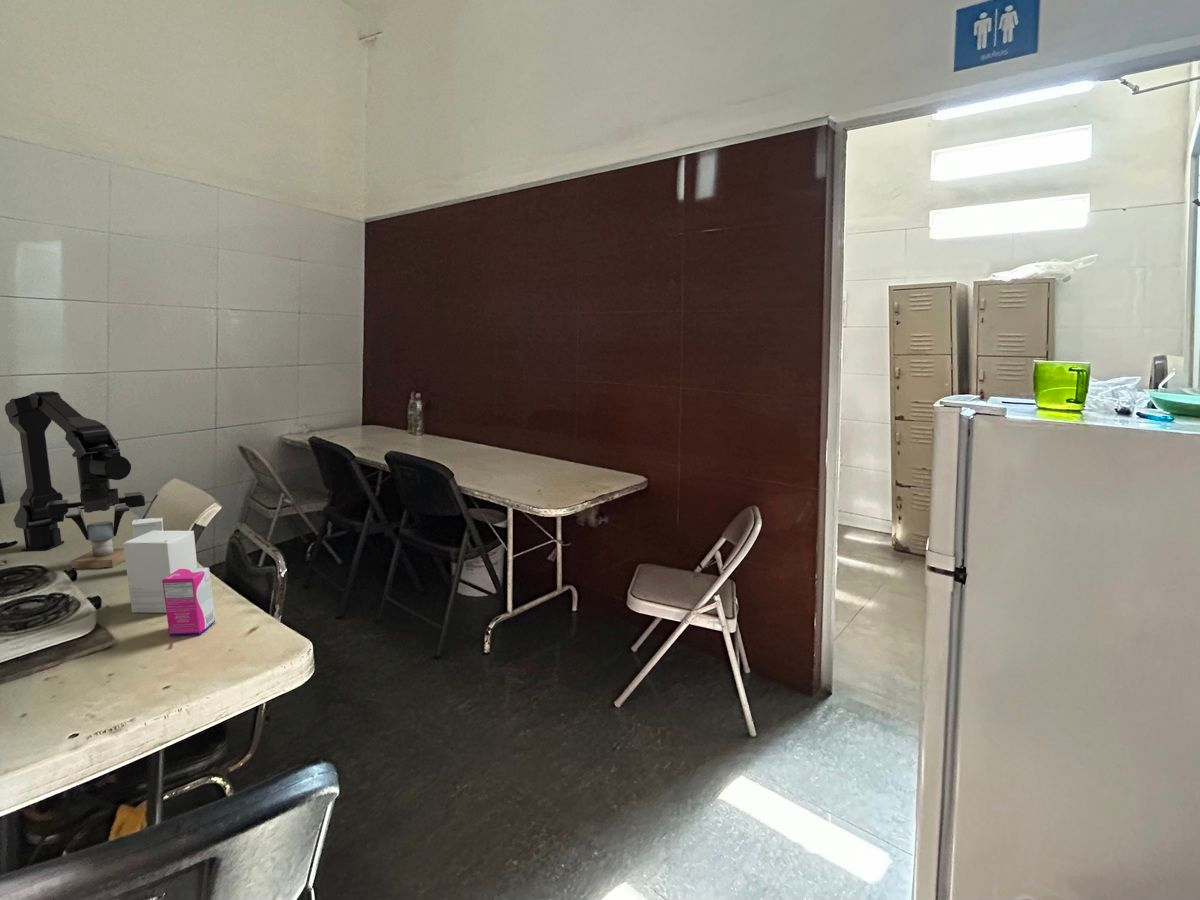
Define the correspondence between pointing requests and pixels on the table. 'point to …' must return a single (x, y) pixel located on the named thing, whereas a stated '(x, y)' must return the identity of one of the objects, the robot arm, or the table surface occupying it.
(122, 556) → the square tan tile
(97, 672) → the table surface
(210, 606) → the supplement box
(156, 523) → the skincare box
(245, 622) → the table surface
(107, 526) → the smooth rounded gray lump
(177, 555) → the supplement box
